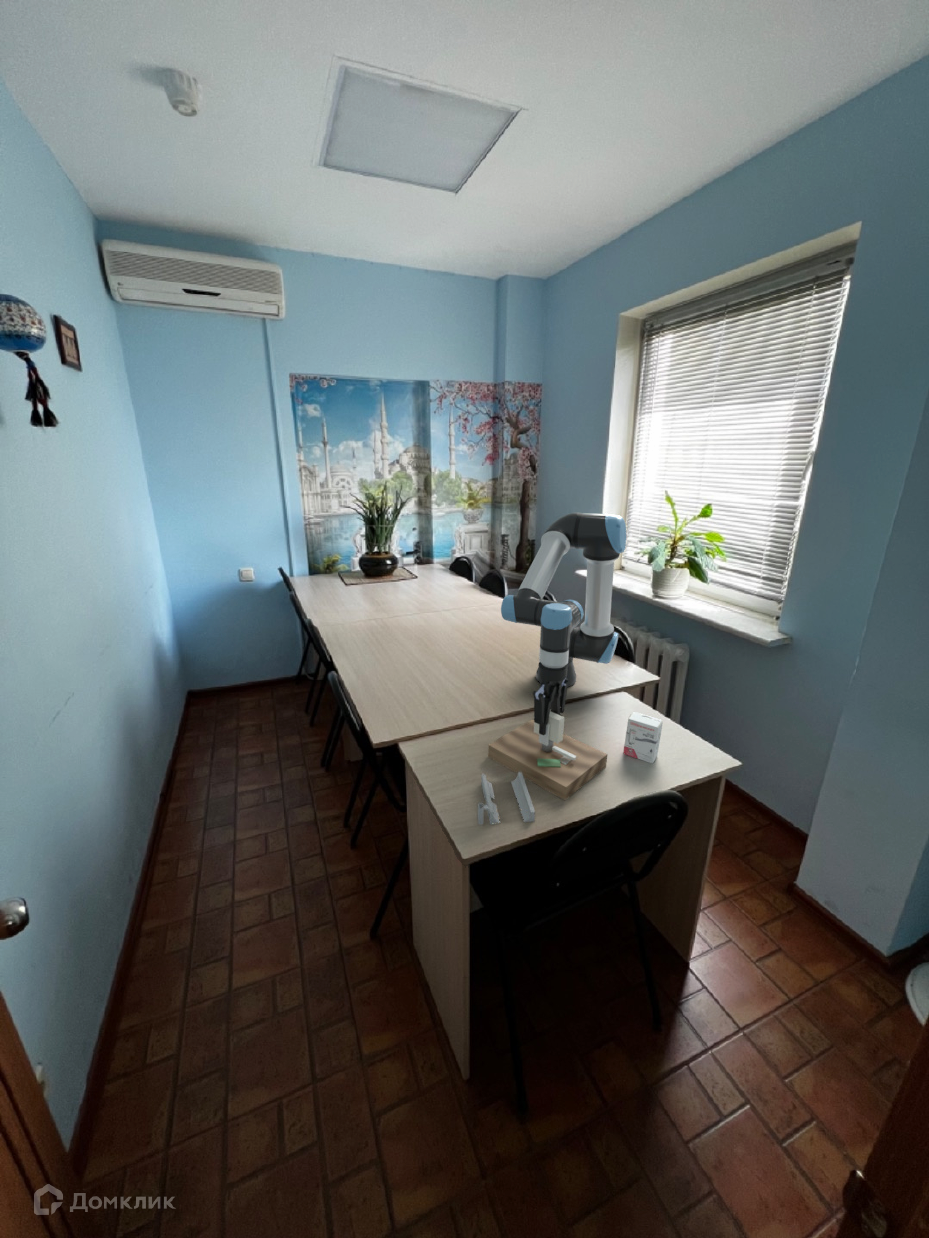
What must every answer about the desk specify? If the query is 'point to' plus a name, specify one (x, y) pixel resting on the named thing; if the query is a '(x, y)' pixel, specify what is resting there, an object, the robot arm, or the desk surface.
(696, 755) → the desk surface
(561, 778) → the brown wavy board
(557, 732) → the white piece
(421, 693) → the desk surface
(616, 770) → the desk surface
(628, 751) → the ink box
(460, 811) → the desk surface
